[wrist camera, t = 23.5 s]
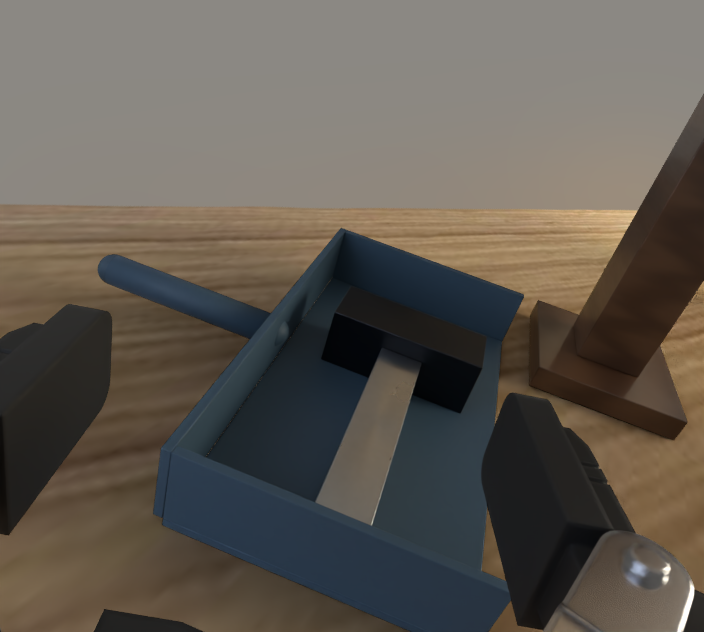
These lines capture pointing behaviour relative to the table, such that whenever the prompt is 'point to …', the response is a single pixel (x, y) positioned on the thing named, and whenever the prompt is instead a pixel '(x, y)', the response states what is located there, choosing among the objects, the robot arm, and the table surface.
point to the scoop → (337, 442)
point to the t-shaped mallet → (390, 388)
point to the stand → (633, 304)
